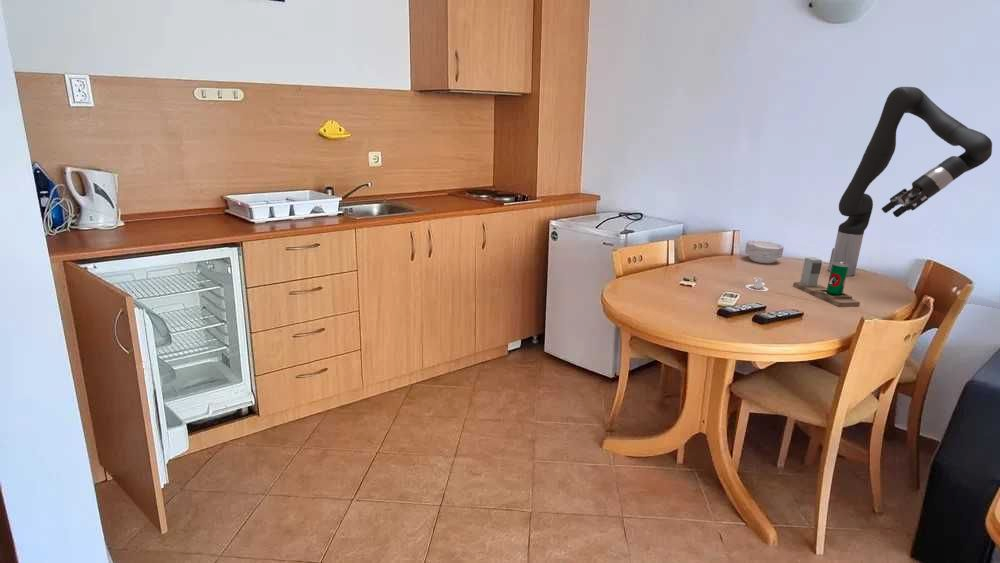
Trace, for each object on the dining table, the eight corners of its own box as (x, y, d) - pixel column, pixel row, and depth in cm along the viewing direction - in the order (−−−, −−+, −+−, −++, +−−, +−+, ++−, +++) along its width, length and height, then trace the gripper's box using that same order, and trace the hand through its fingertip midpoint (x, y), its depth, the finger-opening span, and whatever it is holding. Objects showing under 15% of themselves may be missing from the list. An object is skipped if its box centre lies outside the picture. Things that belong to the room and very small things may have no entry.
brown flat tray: (793, 286, 227) (794, 280, 226) (811, 285, 228) (812, 279, 228) (839, 306, 204) (840, 300, 204) (859, 306, 206) (860, 299, 205)
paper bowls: (787, 266, 257) (790, 248, 255) (752, 264, 256) (755, 246, 254) (771, 257, 271) (774, 240, 269) (738, 256, 271) (741, 239, 269)
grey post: (800, 283, 226) (805, 257, 223) (809, 282, 227) (814, 257, 224) (808, 286, 221) (814, 260, 218) (818, 286, 222) (823, 260, 219)
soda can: (843, 297, 209) (851, 264, 206) (828, 296, 210) (835, 263, 207) (839, 293, 214) (846, 261, 211) (824, 292, 215) (830, 259, 212)
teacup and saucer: (757, 284, 228) (759, 274, 227) (774, 290, 221) (776, 280, 220) (740, 287, 224) (742, 276, 223) (757, 293, 217) (759, 282, 216)
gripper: (915, 171, 211) (873, 202, 216) (937, 176, 198) (891, 208, 203) (927, 187, 212) (885, 217, 217) (950, 193, 199) (905, 224, 203)
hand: (888, 213), depth 210 cm, fingers open, 8 cm apart
